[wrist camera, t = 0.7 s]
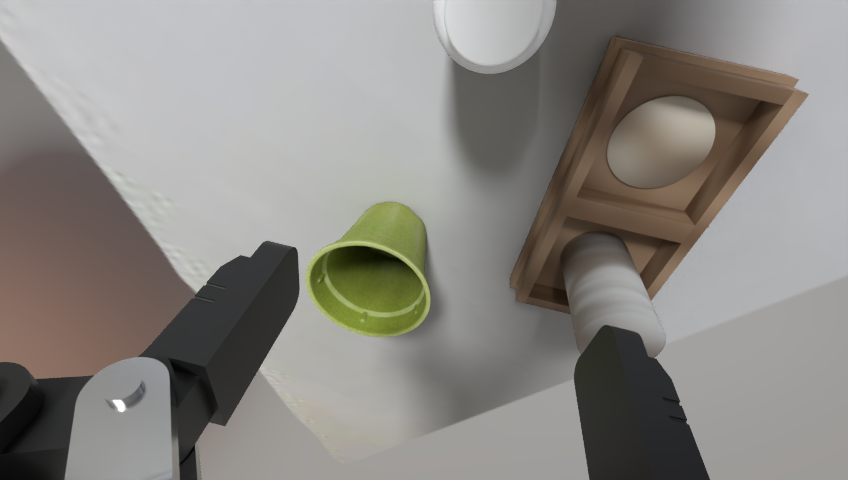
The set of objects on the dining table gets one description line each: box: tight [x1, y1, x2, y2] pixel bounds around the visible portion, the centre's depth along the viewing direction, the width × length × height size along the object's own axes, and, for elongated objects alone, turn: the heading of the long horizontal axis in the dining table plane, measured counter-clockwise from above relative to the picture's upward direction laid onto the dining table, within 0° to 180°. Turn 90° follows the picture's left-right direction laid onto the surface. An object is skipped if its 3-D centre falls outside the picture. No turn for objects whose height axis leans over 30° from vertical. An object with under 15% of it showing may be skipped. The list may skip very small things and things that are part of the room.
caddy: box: [510, 36, 809, 358], centre depth 26 cm, size 21×11×10 cm, turn 170°
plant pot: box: [305, 202, 431, 337], centre depth 32 cm, size 9×9×9 cm
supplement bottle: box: [433, 0, 557, 74], centre depth 20 cm, size 6×6×10 cm
